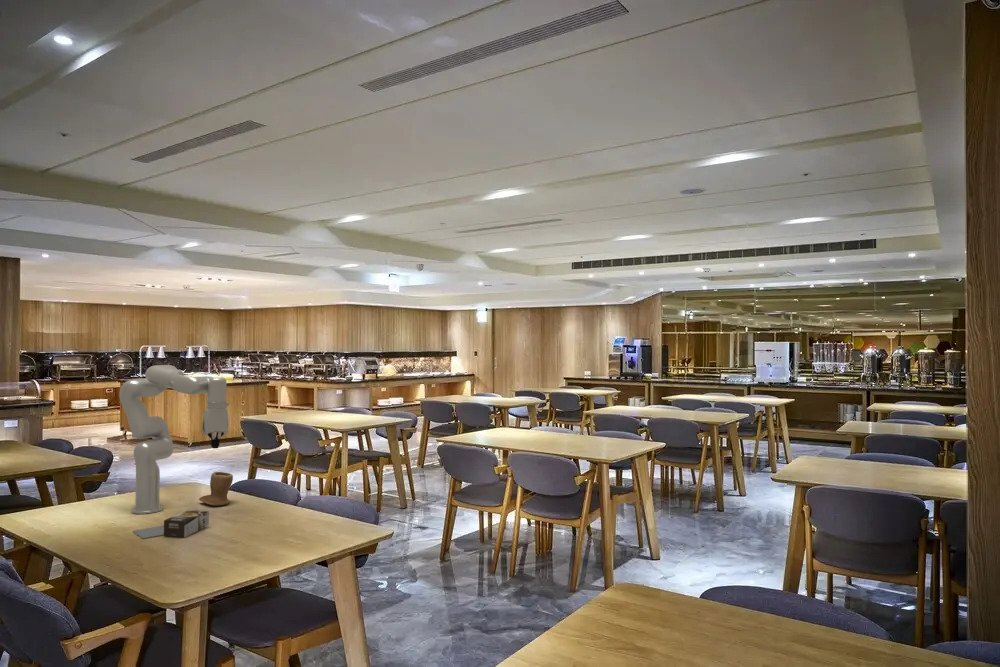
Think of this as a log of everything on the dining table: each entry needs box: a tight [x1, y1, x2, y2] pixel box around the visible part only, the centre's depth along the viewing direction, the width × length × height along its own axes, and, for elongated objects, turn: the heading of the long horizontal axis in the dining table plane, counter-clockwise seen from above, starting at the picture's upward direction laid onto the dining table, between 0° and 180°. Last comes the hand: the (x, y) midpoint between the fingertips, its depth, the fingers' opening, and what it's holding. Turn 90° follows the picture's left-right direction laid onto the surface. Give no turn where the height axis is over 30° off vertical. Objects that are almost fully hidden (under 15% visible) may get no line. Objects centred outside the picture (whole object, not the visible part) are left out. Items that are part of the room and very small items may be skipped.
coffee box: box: [163, 508, 210, 539], centre depth 260 cm, size 9×6×16 cm
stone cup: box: [198, 471, 234, 507], centre depth 307 cm, size 15×12×15 cm
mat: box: [132, 525, 164, 540], centre depth 261 cm, size 14×18×1 cm
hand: (214, 447), depth 284 cm, fingers closed
